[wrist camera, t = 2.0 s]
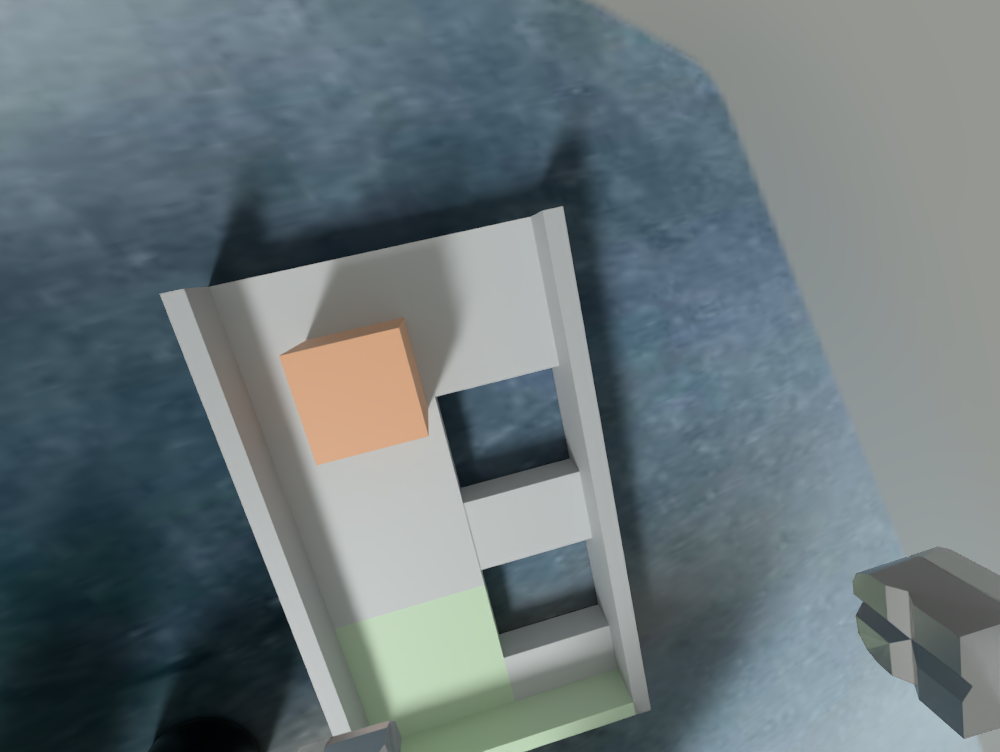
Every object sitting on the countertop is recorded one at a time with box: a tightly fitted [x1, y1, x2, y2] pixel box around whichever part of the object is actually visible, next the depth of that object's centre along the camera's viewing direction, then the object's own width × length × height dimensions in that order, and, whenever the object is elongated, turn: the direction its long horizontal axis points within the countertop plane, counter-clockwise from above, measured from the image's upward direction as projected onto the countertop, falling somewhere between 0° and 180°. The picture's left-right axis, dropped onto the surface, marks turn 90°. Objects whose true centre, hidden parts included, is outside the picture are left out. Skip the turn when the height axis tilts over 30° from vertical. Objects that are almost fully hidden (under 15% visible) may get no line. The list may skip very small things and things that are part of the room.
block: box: [279, 318, 429, 465], centre depth 23 cm, size 5×5×4 cm
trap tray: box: [160, 206, 651, 752], centre depth 27 cm, size 30×18×4 cm, turn 12°
